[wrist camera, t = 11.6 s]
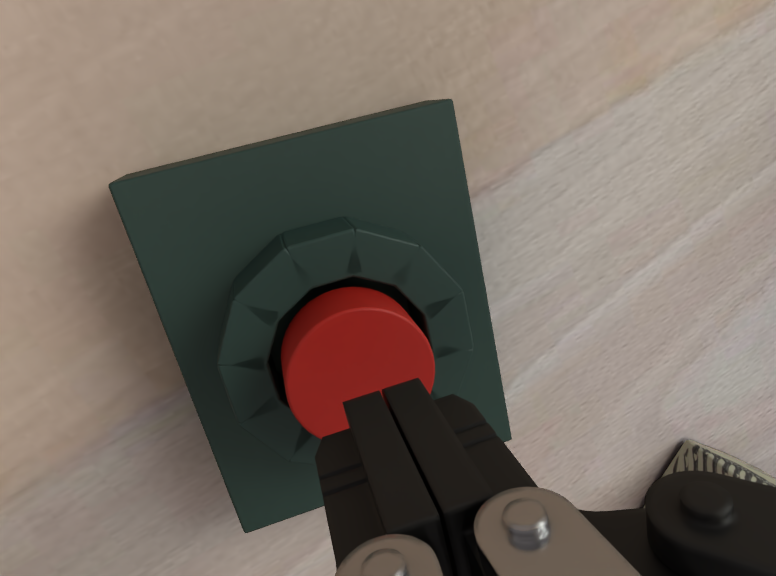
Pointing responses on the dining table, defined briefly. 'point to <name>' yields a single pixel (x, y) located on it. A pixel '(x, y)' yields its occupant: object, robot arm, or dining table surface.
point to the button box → (308, 277)
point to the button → (349, 354)
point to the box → (715, 464)
